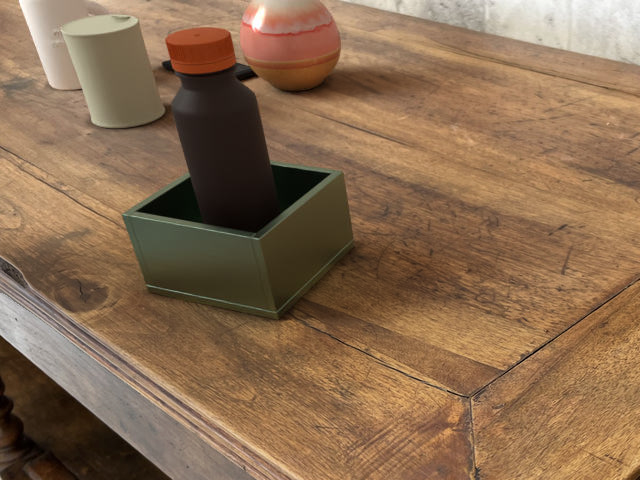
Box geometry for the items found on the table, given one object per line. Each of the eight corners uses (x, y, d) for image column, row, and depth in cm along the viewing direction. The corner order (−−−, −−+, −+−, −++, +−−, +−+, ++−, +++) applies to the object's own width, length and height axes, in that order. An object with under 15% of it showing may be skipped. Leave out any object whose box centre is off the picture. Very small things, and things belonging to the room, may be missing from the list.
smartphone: (159, 67, 122) (220, 86, 114) (157, 61, 121) (219, 80, 114) (200, 55, 126) (261, 73, 119) (199, 49, 126) (260, 67, 118)
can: (180, 111, 107) (153, 16, 100) (121, 133, 101) (89, 34, 94) (135, 99, 111) (107, 6, 104) (76, 120, 105) (42, 23, 98)
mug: (144, 73, 120) (118, -14, 112) (65, 94, 113) (32, 3, 105) (117, 62, 124) (91, -22, 117) (40, 81, 117) (7, -7, 110)
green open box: (148, 292, 72) (120, 214, 67) (237, 225, 82) (219, 152, 77) (278, 320, 68) (259, 239, 63) (355, 245, 78) (343, 170, 73)
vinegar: (240, 288, 71) (178, 54, 58) (201, 261, 74) (135, 36, 62) (304, 259, 74) (259, 34, 62) (264, 235, 78) (214, 18, 66)
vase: (365, 79, 117) (349, -57, 106) (297, 107, 108) (271, -37, 97) (299, 63, 123) (277, -67, 112) (229, 89, 114) (197, -49, 103)
